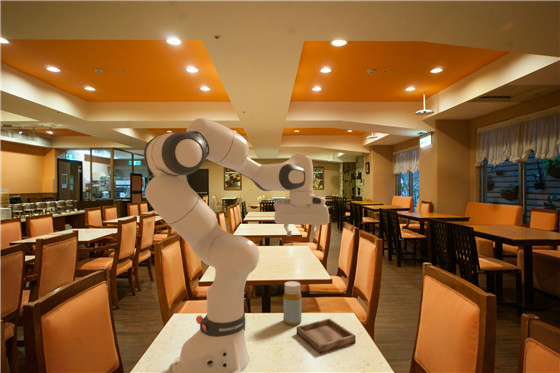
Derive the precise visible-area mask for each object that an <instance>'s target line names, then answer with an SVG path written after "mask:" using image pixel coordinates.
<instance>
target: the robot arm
mask: <svg viewBox="0 0 560 373" xmlns="http://www.w3.org/2000/svg"><path fill="white" fill-rule="evenodd" d="M249 153H250V147H249V142H248V141H247V139H246V138H245V137H244V136H242V135H241V134H239V132H237V131H235V130H233V129H231V128H229V127H227V126H226V125H224V124H221V123H219V122H216V121H214V120H210V119H209V118H208V119H207V118H204V117H198V118H196V119H194V120H192V121H191V122H190V123H189V125H188V126H187V127H186V130H185V131H178V132H168V133H163V134H161V135H158V136H155V137H153V138H152V139H150V140H149V141H148V142H147V143H146V144H145V147H144V150H143V157H144V158H143V159H144V162H145V165H146V167H147V172H148V175H149V177H151V180H149V182H148V183H147V185H146V187H145V191H144V196H145V199H146V200H147V201H148V204H150V207H152V208H153V210H154V211H155V212H156V213H157V215H158V216H159V217H160V218H161V219H162V220H163V221H164V222H165V223H166V224H167V225H168V226H169V227H170V228H172V229H173V230H174V231H175V233H177V235H179V236H180V237H181V238H182V239H183V240H184V241H185V242H186V243H187V244H188V246H189V247H190V248H191V250H192V251H193V252H194V253H195V255H196V257H197V258H199V260H201V262H203V263H204V264H205V265H207V266H210V267H211V268H214V270H215V275H214V280H213V282H212V284H210V286H208V289H207V291H206V315H205V316H202V315H201V314H200V315H196V317H195V321H196V322H197V324H198V325H199V329H198V330H197V331H196V332H195V333H194V334H192V336H191V337H190V338H188V339H187V340H186V341H185V342H184V343H183V345H182V347H181V350H180V355H179V356H178V357H176V358H175V359H174V360H173V361H172V365H171V373H242V370H243V369H244V368H246V367H247V365H248V364H249V363H250V362H249V361H250V356H249V353H248V350H247V345H246V338H245V337H246V336H245V335H246V334H245V331H246V312H244V308H245V307H244V303H245V298H244V297H245V289H246V288H245V287H246V282H247V280H248V278H249V275H250V274H251V273H252V272H254V270H256V268H257V266H258V263H259V261H260V250H259V247H258V245H257V244H256V243H255V242H253V241H252V240H250V239H248V238H247V237H245V236H241V235H239V234H237V235H236V234H233V233H229V232H228V231H226V230H224V229H223V228H222V227H221V226H220V225H219V222H218V221H217V215H216V213H215V212H214V210H213V209H212V208H211V207H210V206H209V205H208V204H207V203H206V202H205V200H203V199H202V198H201V196H200V195H199V194H198V193H197V192H196V191H195V190H194V189H193V188H192V187H191V185H190V184H189V183H188V179H187V176H186V175H190V174H193V173H195V172H197V171H198V170H200V168H201V167H202V166H203V165H204V162H206V160H208V161H209V162H212V163H214V164H216V165H219V166H221V167H224V168H226V169H230V170H233V171H234V172H236V173H238V174H240V175H241V176H244V177H245V178H248V179H249V180H250V181H252V182H253V184H254V185H255V186H256V187H257V188H258V189H259V190H261V191H263V192H271V191H274V192H275V191H279V192H281V191H283V192H285V191H286V192H288V191H289V198H278V199H276V200H275V201H274V204H273V209H274V210H275V211H274V219H273V220H274V222H275V224H277V225H283V228H284V230H285V232H286V237H292V236H293V233H292V230H290V229H289V228H288V227H289V225H314V227H315V228H316V229H315V230H314V231H312V232H311V233H312V238H317V235H318V231H319V229H320V226H327V225H329V223H330V214H329V208H328V206H327V205H326V202H327V200H326V198H325V197H323V196H321V195H316V194H314V187H313V186H314V185H313V183H314V166H313V160H312V158H311V157H310V156H309V155H306V154H293V155H291V156H290V158H289V159H288V160H285V161H284V162H282V163H272V164H271V163H263V164H261V163H258V162H257V161H255V160H253V159H252V158H250V157H249Z"/></svg>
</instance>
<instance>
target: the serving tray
mask: <svg viewBox="0 0 560 373" xmlns="http://www.w3.org/2000/svg"><path fill="white" fill-rule="evenodd" d="M296 335H297V336H299V337H300V338H301V340H303V341H304V342H306V343H307V345H309V346H310V347H311V348H312V349H313V350H315V351H316V352H317V353H318V354H319V355H321V354H325V353H329V352H331V351H334V350H338V349H341V348H345V347H347V346H350V345H354V344H356V341H357V340H356V335H355V334H354V333H353V332H351V331H349V330H348V329H347V328H345V327H344V326H341V325H340V324H338V323H337V322H336V321H335V320H333V319H331V318H325V319H322V320H318V321H314V322H311V323H307V324H302V325H299V326H298V325H297V326H296Z"/></svg>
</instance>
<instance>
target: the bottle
mask: <svg viewBox="0 0 560 373" xmlns="http://www.w3.org/2000/svg"><path fill="white" fill-rule="evenodd" d="M283 322H284V324H286V325H288V326H292V327H293V326H298V325H299V324H301V322H302V293H301V283H300V282H299V281H295V280H294V281H293V280H291V281H290V280H289V281H286V282H284V293H283Z"/></svg>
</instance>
